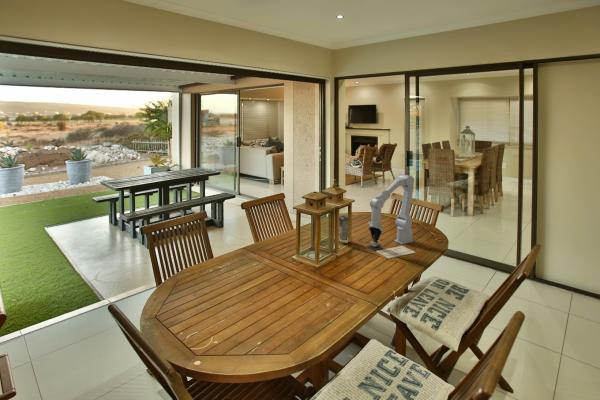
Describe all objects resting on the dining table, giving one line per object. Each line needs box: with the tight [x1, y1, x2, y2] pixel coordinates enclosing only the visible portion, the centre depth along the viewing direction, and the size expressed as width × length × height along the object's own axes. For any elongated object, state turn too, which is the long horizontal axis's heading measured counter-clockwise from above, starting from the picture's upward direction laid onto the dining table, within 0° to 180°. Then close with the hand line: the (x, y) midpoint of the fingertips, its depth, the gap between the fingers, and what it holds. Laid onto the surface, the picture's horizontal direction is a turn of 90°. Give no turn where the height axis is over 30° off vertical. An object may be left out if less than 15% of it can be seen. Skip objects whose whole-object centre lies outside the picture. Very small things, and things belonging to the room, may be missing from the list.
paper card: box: [375, 245, 417, 259], centre depth 216 cm, size 20×12×1 cm, turn 114°
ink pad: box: [366, 244, 384, 252], centre depth 223 cm, size 7×7×1 cm
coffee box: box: [339, 215, 349, 240], centre depth 235 cm, size 9×6×16 cm
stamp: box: [369, 234, 382, 248], centre depth 222 cm, size 5×4×7 cm
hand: (375, 239), depth 222 cm, fingers closed on stamp, 3 cm apart
